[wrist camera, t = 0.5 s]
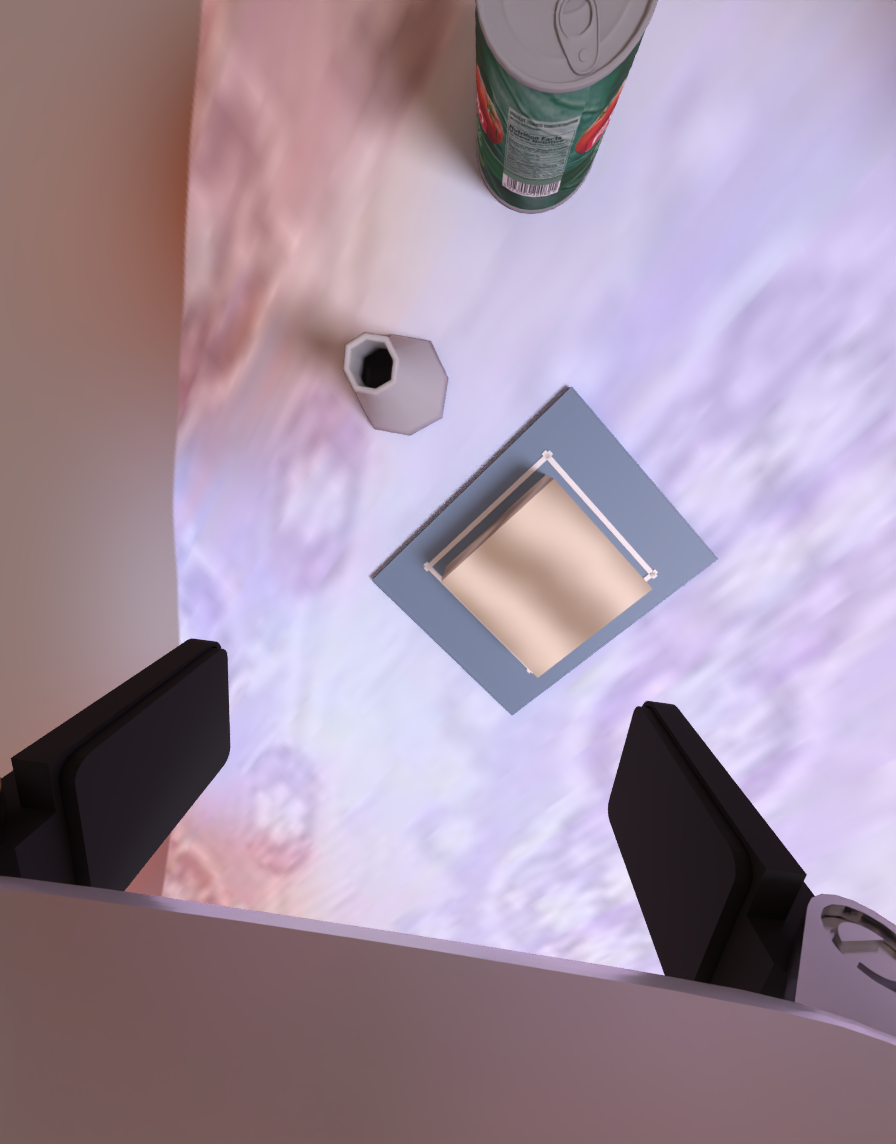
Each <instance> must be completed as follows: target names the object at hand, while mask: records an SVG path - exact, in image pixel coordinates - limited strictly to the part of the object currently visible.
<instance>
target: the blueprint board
mask: <svg viewBox="0 0 896 1144" xmlns="http://www.w3.org/2000/svg"><path fill="white" fill-rule="evenodd" d="M545 475H548V476H550V477H552V478H554V479H555V480H556V481H557V483H558V484H559V485H560V486H561V487H562V488H563V489H564V490H565V491H566V493H567V494H568V495H569V496H570V497H571V498H572V499H573V500H574V502H575V503H576V504H577V505H578V506H579V507H580V508H581V509H582V510H583V512H584V513H585V514H586V515H587V516H588V517H589V518H590V519H591V520H592V522H593V523H594V524H595V525H596V526H597V527H598V528H599V529H600V531H601V532H602V533H603V534H604V535H605V536H606V537H607V538H608V539H609V541H610V542H611V543H612V544H613V545H614V546H615V547H616V548H617V549H618V551H619V552H620V553H621V554H622V555H623V556H624V557H625V558H626V560H627V561H628V562H629V563H630V564H631V565H632V566H633V567H634V568H635V570H636V571H637V572H638V573H639V574H640V575H641V576H642V577H643V578H644V580H645V581H646V582H647V583H648V584H649V585H650V586H651V587H652V590H651V591H649V592H648V593H647V594H646V595H644V596H643V597H642V598H640V599H639V600H638V601H637V602H635V603H634V604H633V605H631V606H630V607H629V608H628V609H626V610H625V611H624V612H622V613H621V614H620V615H618V616H617V617H616V618H615V619H613V620H612V621H611V622H609V623H608V624H607V625H606V626H604V627H603V628H602V629H600V630H599V631H598V632H596V633H595V634H594V635H593V636H591V637H590V638H589V639H587V640H586V641H585V642H584V643H582V644H581V645H580V646H578V647H577V648H576V649H575V650H573V651H572V652H571V653H569V654H568V655H567V656H565V657H564V658H563V659H562V660H560V661H559V662H558V663H556V664H555V665H554V666H553V667H551V668H550V669H549V670H547V671H546V672H545V673H543V674H542V675H541V676H540V677H538V678H537V677H536V676H535V675H534V674H533V673H532V672H531V671H530V670H529V669H528V668H527V667H526V666H525V665H524V664H523V663H522V662H521V661H520V660H519V659H518V658H517V657H516V656H515V655H514V654H513V653H512V652H511V651H510V650H509V649H508V648H507V647H506V646H505V645H504V644H503V643H502V642H501V641H500V640H499V639H498V638H497V637H496V636H495V635H494V634H493V633H492V632H491V631H490V630H489V629H488V628H487V627H486V626H485V625H484V624H483V623H482V622H481V621H480V620H479V619H478V618H477V617H476V616H475V615H474V614H473V613H472V612H471V611H470V610H469V609H468V608H467V607H466V606H465V605H464V604H463V603H462V602H461V601H460V600H459V599H458V598H457V597H456V596H455V595H454V594H453V593H452V592H451V591H450V590H449V589H448V588H447V587H446V586H445V585H444V584H443V583H442V582H441V580H442V577H443V574H444V570H445V567H446V566H447V565H448V564H449V563H450V562H451V561H453V560H454V559H455V558H456V557H457V556H458V555H459V554H460V553H461V552H462V551H463V550H464V549H466V548H467V547H468V546H469V545H470V544H471V543H472V542H473V541H474V540H475V539H476V538H477V537H479V536H480V535H481V534H482V533H483V532H484V531H485V530H486V529H487V528H488V527H489V526H490V525H492V524H493V523H494V522H495V521H496V520H497V519H498V518H499V517H500V516H501V515H502V514H504V513H505V512H506V511H507V510H508V509H509V508H510V507H511V506H512V505H513V504H514V503H515V502H517V501H518V500H519V499H520V498H521V497H522V496H523V495H524V494H525V493H526V492H527V491H528V490H530V489H531V488H532V487H533V486H534V485H535V484H536V483H537V482H538V481H539V480H540V479H541V478H543V477H544V476H545ZM717 559H718V558H717V557H716V556H715V555H714V553H713V552H712V551H711V550H710V549H709V548H708V546H707V545H706V544H705V543H704V542H703V540H702V539H701V538H700V537H699V536H698V535H697V533H696V532H695V531H694V530H693V529H692V528H691V526H690V525H689V524H688V523H687V522H686V520H685V519H684V518H683V517H682V516H681V515H680V513H679V512H678V511H677V510H676V509H675V507H674V506H673V505H672V504H671V503H670V502H669V500H668V499H667V498H666V497H665V496H664V495H663V493H662V492H661V491H660V490H659V489H658V487H657V486H656V485H655V484H654V483H653V482H652V480H651V479H650V478H649V477H648V476H647V475H646V473H645V472H644V471H643V470H642V469H641V467H640V466H639V465H638V464H637V463H636V462H635V460H634V459H633V458H632V457H631V456H630V455H629V453H628V452H627V451H626V450H625V449H624V447H623V446H622V445H621V444H620V443H619V442H618V440H617V439H616V438H615V437H614V436H613V434H612V433H611V432H610V431H609V430H608V429H607V427H606V426H605V425H604V424H603V423H602V422H601V420H600V419H599V418H598V417H597V416H596V414H595V413H594V412H593V411H592V410H591V409H590V407H589V406H588V405H587V404H586V403H585V402H584V400H583V399H582V398H581V397H580V396H579V394H578V393H577V392H576V391H575V390H574V389H573V387H570V388H569V389H568V390H567V391H566V392H565V393H564V394H563V395H562V396H561V397H560V398H559V399H558V400H557V401H556V402H555V403H554V404H553V405H552V406H551V407H550V408H549V409H548V410H547V411H546V412H545V413H543V414H542V415H541V416H540V417H539V418H538V419H537V420H536V421H535V422H534V423H533V424H532V425H531V426H530V427H529V428H528V429H527V430H526V431H525V432H524V433H523V434H522V435H521V436H520V437H519V438H518V439H517V440H516V441H515V442H514V443H513V444H512V445H510V446H509V447H508V448H507V449H506V450H505V451H504V452H503V453H502V454H501V455H500V456H499V457H498V458H497V459H496V460H495V461H494V462H493V463H492V464H491V465H490V466H489V467H488V468H487V469H486V470H485V471H484V472H483V473H482V474H481V475H480V476H479V477H477V478H476V479H475V480H474V481H473V482H472V483H471V484H470V485H469V486H468V487H467V488H466V489H465V490H464V491H463V492H462V493H461V494H460V495H459V496H458V497H457V498H456V499H455V500H454V501H453V502H452V503H451V504H450V505H449V506H448V507H447V508H446V509H444V510H443V511H442V512H441V513H440V514H439V515H438V516H437V517H436V518H435V519H434V520H433V521H432V522H431V523H430V524H429V525H428V526H427V527H426V528H425V529H424V530H423V531H422V532H421V533H420V534H419V535H418V536H417V537H416V538H415V539H414V540H413V541H412V542H410V543H409V544H408V545H407V546H406V547H405V548H404V549H403V550H402V551H401V552H400V553H399V554H398V555H397V556H396V557H395V558H394V559H393V560H392V561H391V562H390V563H389V564H388V565H387V566H386V567H385V568H384V569H383V570H382V571H381V572H380V573H379V574H377V575H376V576H375V577H374V578H373V580H372V581H373V582H374V583H375V584H376V585H377V586H378V587H379V588H380V589H381V590H382V591H383V592H384V593H385V594H386V595H387V596H388V597H390V598H391V599H392V600H393V601H394V602H395V603H396V604H397V605H398V606H399V607H400V608H401V609H402V610H403V611H404V612H405V613H406V614H407V615H408V616H409V617H410V618H411V619H412V620H413V621H414V622H415V623H417V624H418V625H419V626H420V627H421V628H422V629H423V630H424V631H425V632H426V633H427V634H428V635H429V636H430V637H431V638H432V639H433V640H434V641H435V642H436V643H437V644H438V645H439V646H440V647H441V648H442V649H443V650H445V651H446V652H447V653H448V654H449V655H450V656H451V657H452V658H453V659H454V660H455V661H456V662H457V663H458V664H459V665H460V666H461V667H462V668H463V669H464V670H465V671H466V672H467V673H468V674H469V675H470V676H471V677H473V678H474V679H475V680H476V681H477V682H478V683H479V684H480V685H481V686H482V687H483V688H484V689H485V690H486V691H487V692H488V693H489V694H490V695H491V696H492V697H493V698H494V699H495V700H496V701H497V702H498V703H500V704H501V705H502V706H503V707H504V708H505V709H506V710H507V711H508V712H509V713H510V714H511V715H513V714H515V713H516V712H517V711H519V710H520V709H521V708H523V707H524V706H525V705H527V704H528V703H529V702H531V701H532V700H533V699H535V698H536V697H537V696H538V695H540V694H541V693H542V692H544V691H545V690H546V689H548V688H549V687H550V686H552V685H553V684H554V683H556V682H557V681H558V680H560V679H561V678H562V677H563V676H565V675H566V674H567V673H569V672H570V671H571V670H573V669H574V668H575V667H577V666H578V665H579V664H581V663H582V662H583V661H585V660H586V659H587V658H588V657H590V656H591V655H592V654H594V653H595V652H596V651H598V650H599V649H600V648H602V647H603V646H604V645H606V644H607V643H608V642H610V641H611V640H612V639H613V638H615V637H616V636H617V635H619V634H620V633H621V632H623V631H624V630H625V629H627V628H628V627H629V626H631V625H632V624H633V623H635V622H636V621H637V620H638V619H640V618H641V617H642V616H644V615H645V614H646V613H648V612H649V611H650V610H652V609H653V608H654V607H656V606H657V605H658V604H660V603H661V602H662V601H663V600H665V599H666V598H667V597H669V596H670V595H671V594H673V593H674V592H675V591H677V590H678V589H679V588H681V587H682V586H683V585H685V584H686V583H687V582H688V581H690V580H691V579H692V578H694V577H695V576H696V575H698V574H699V573H700V572H702V571H703V570H704V569H706V568H707V567H708V566H710V565H711V564H712V563H714V562H715V561H716V560H717Z"/></svg>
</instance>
